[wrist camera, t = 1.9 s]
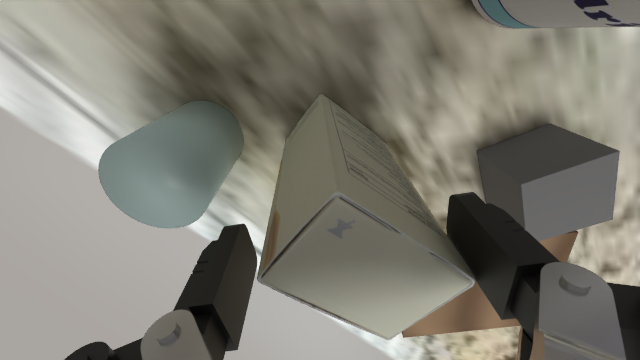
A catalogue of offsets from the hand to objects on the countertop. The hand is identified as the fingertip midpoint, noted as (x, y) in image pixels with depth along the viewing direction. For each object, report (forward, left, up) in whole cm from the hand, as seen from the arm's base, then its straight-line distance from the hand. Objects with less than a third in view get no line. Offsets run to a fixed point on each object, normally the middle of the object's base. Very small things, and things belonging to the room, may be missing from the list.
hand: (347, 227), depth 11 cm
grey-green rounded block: (+9, -2, -10) cm, 13 cm away
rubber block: (-13, +4, -10) cm, 17 cm away
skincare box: (0, 0, -10) cm, 10 cm away
